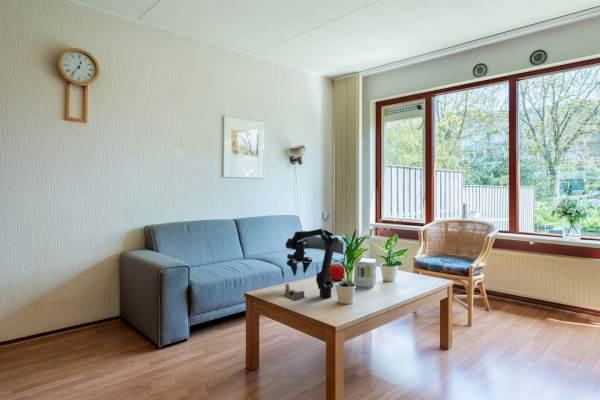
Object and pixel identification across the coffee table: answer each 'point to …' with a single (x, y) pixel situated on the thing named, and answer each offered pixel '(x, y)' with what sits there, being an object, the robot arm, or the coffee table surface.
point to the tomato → (336, 272)
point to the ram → (287, 291)
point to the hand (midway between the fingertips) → (299, 274)
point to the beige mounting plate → (297, 296)
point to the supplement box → (365, 272)
